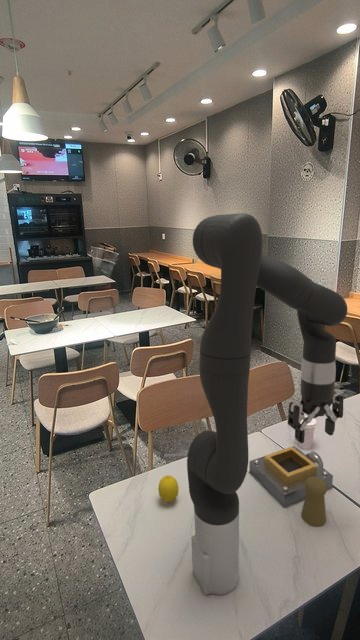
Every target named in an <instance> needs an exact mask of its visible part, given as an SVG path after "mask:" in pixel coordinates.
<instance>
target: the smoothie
mask: <svg viewBox="0 0 360 640" xmlns="http://www.w3.org/2000/svg"><path fill="white" fill-rule="evenodd" d="M304 416H305V417H308V415H307V414H306V415H304ZM302 422H303V420H302V421H301V422H300V424H301V423H302ZM316 426H317V420H316V418H313V419H312V421H311V422H310V423H308V424H307V425H306V427H305V428H304V430H305V436H304V443H300V442H298V445H299V448H301V449H302V450H303V449H304V450H309V449H311V448H312V443H313V438H314V434H315V430H316V429H315V428H316Z"/></svg>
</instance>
